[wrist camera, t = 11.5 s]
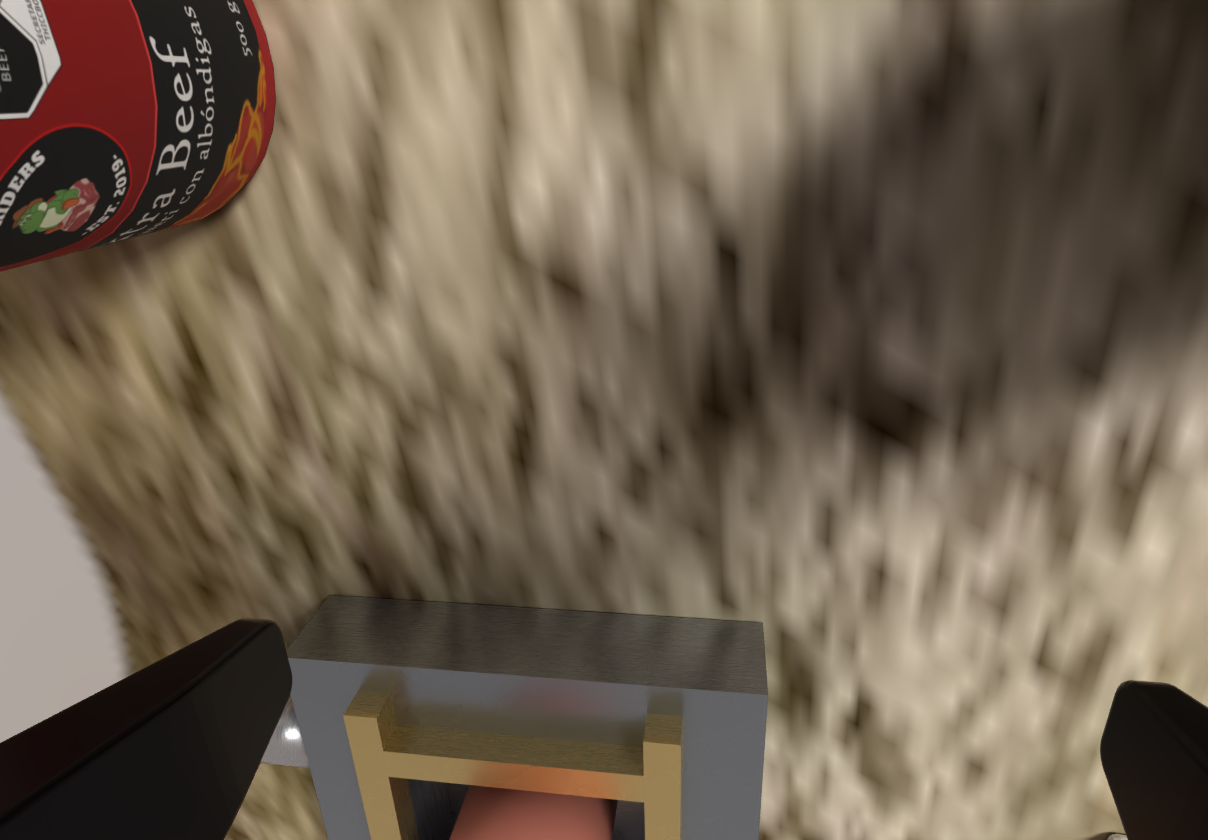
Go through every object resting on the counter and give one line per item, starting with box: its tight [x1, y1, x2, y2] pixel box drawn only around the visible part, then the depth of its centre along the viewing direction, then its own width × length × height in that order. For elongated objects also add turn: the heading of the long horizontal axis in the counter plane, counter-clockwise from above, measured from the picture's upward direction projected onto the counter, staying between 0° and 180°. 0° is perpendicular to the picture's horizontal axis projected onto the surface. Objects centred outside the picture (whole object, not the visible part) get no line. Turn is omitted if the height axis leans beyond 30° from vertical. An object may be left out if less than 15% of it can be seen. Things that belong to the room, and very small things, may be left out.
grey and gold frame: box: [260, 595, 768, 840], centre depth 25 cm, size 17×14×4 cm
